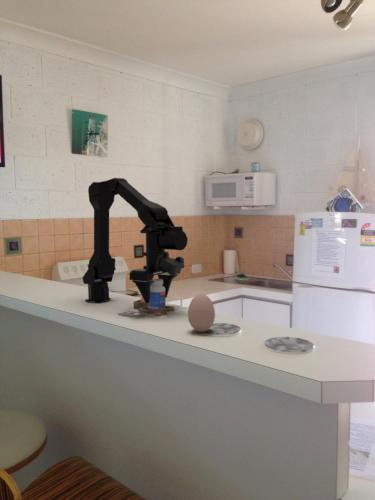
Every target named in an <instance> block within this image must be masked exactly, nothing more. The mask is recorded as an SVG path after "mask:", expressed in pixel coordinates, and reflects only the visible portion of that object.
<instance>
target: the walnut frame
mask: <svg viewBox="0 0 375 500" xmlns="http://www.w3.org/2000/svg"><path fill="white" fill-rule="evenodd" d="M146 306H148V303H144V302H140V299H137V300H134V301H133V309H135V310H139V309H140V308H143V307H146Z"/></svg>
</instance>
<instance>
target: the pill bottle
mask: <svg viewBox="0 0 375 500" xmlns="http://www.w3.org/2000/svg"><path fill="white" fill-rule="evenodd" d="M152 280H153V281H154V282H153V283H152V284H151V286H150V300H149V303H148V310H156V311H161V310H164V309H166V306H167V305H166V302H167V301H166V298H165V287H163V286H162V284H163V279H159V278H153V279H152Z"/></svg>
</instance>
